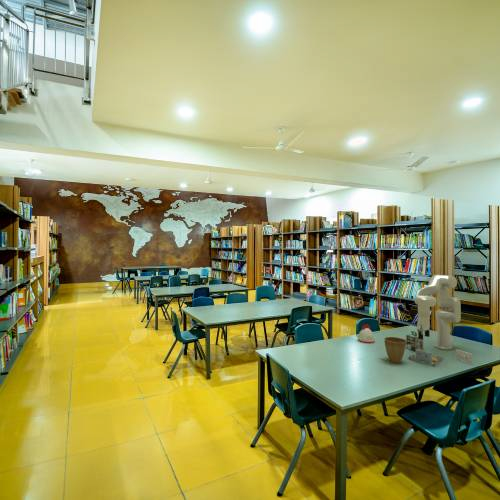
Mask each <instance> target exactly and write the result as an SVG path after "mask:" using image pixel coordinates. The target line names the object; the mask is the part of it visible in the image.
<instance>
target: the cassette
mask: <svg viewBox="0 0 500 500" xmlns="http://www.w3.org/2000/svg"><path fill="white" fill-rule="evenodd" d="M455 360H457V361H459V362H462V363H465V364H467V365H471V366H472V365H473V354H472V353H470V352H468V351H464V350H460V349H458V348H456V349H455Z"/></svg>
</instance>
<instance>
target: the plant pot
mask: <svg viewBox="0 0 500 500" xmlns="http://www.w3.org/2000/svg"><path fill="white" fill-rule="evenodd" d="M383 339H384V346H385V352H386V354H387V357H388V360H389V362H391V363H395V364H400V363H401V361H402V359H403V357H404V354H405V352H406V348H407V347H406V342H407V341H406V338H402V337H397V336H386V337H383Z"/></svg>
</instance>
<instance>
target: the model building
mask: <svg viewBox="0 0 500 500" xmlns="http://www.w3.org/2000/svg"><path fill="white" fill-rule="evenodd" d="M405 337H406V338H405V340H406V341H407V342H406V347H405V348H406V349H407V350H409V351H413V352H415V353H416V350H417V349H420V350H424V351H425V349H424V339H423V340H422V339H418V332H416V331H413V330H411V334H410V333H409V334H406V336H405Z"/></svg>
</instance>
